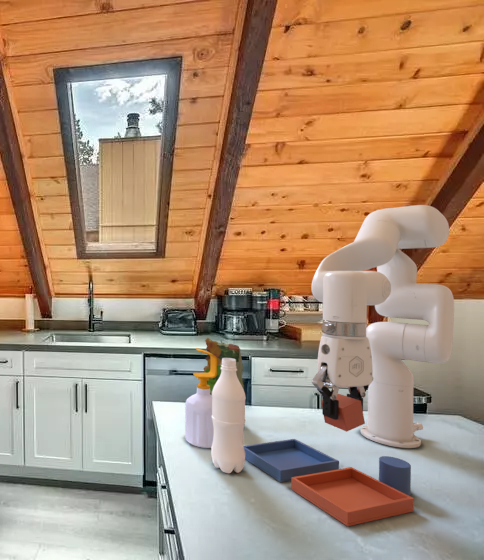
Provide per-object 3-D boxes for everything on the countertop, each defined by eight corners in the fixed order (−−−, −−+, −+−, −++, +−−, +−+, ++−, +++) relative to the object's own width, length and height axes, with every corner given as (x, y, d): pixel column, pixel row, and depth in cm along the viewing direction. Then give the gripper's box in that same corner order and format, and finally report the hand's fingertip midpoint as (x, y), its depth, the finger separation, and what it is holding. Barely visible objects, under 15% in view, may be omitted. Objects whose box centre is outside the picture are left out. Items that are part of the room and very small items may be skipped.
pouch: (244, 434, 107) (244, 344, 107) (199, 426, 112) (200, 341, 112) (245, 420, 117) (245, 338, 117) (204, 414, 122) (204, 335, 122)
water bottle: (248, 477, 84) (249, 363, 83) (213, 474, 85) (214, 361, 85) (241, 462, 91) (242, 356, 90) (209, 459, 92) (210, 355, 92)
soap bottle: (181, 433, 107) (182, 345, 107) (214, 434, 107) (215, 346, 106) (190, 448, 98) (191, 352, 98) (226, 449, 98) (227, 352, 97)
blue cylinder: (390, 482, 82) (390, 454, 82) (416, 495, 77) (417, 466, 77) (372, 486, 81) (373, 457, 81) (398, 499, 76) (399, 469, 76)
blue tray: (294, 448, 98) (294, 438, 98) (339, 471, 86) (339, 460, 86) (240, 456, 94) (241, 446, 94) (280, 482, 82) (280, 470, 82)
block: (342, 415, 84) (338, 393, 84) (365, 423, 79) (361, 400, 79) (324, 422, 83) (320, 400, 82) (346, 431, 78) (342, 408, 78)
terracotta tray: (351, 478, 84) (351, 466, 84) (414, 511, 72) (414, 498, 72) (291, 489, 79) (291, 477, 79) (347, 526, 68) (347, 512, 68)
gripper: (327, 333, 75) (326, 426, 75) (393, 331, 79) (392, 418, 79) (295, 328, 82) (294, 413, 82) (357, 326, 86) (356, 407, 86)
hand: (342, 415), depth 81 cm, fingers closed on block, 5 cm apart
